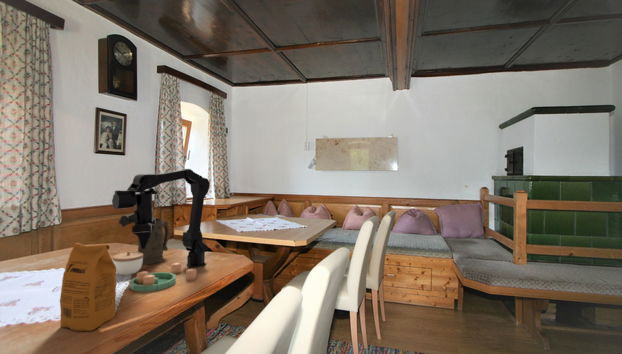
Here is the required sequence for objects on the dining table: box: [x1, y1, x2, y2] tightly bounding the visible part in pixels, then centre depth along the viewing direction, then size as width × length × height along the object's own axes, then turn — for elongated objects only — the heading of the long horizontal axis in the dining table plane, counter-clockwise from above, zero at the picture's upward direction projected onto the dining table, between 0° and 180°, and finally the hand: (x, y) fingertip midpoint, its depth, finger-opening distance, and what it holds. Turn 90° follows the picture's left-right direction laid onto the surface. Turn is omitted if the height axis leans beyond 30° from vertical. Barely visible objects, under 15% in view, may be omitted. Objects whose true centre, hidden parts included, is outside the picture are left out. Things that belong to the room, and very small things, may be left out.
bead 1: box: [136, 270, 149, 285], centre depth 112 cm, size 4×4×4 cm
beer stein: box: [137, 218, 170, 265], centre depth 146 cm, size 15×11×20 cm
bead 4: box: [185, 268, 197, 281], centre depth 119 cm, size 4×4×4 cm
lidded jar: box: [112, 250, 144, 276], centre depth 125 cm, size 11×11×9 cm
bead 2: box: [143, 275, 155, 285], centre depth 109 cm, size 4×4×4 cm
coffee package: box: [59, 241, 117, 332], centre depth 85 cm, size 10×12×22 cm
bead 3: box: [170, 262, 182, 274], centre depth 127 cm, size 4×4×4 cm
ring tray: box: [129, 271, 177, 293], centre depth 113 cm, size 15×15×3 cm
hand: (145, 245), depth 120 cm, fingers open, 9 cm apart
